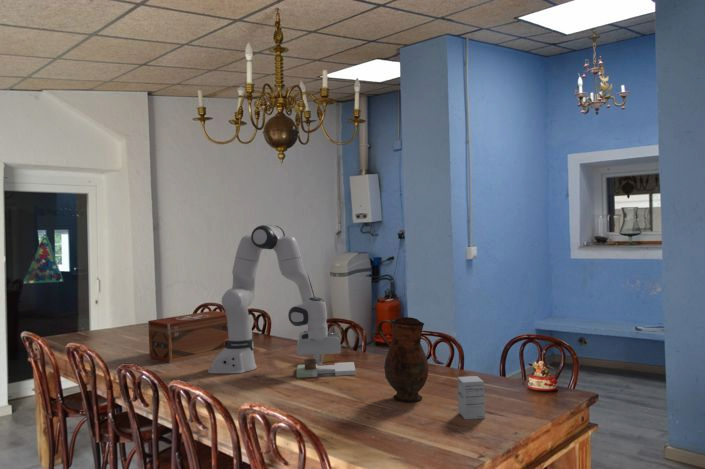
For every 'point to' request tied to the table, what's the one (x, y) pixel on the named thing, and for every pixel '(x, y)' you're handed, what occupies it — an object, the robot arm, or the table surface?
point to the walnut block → (310, 364)
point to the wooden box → (187, 336)
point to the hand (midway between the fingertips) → (319, 363)
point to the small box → (326, 357)
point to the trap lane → (327, 370)
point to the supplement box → (471, 397)
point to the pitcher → (405, 358)
